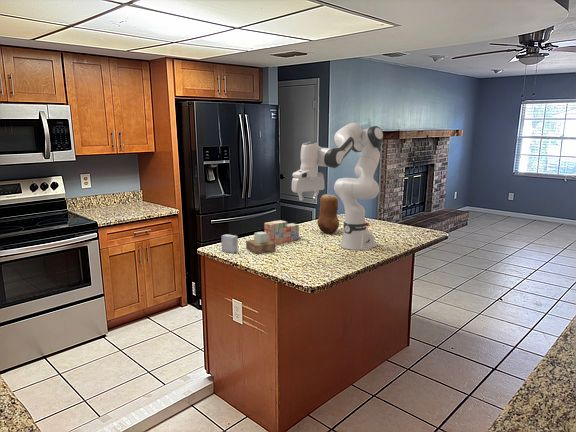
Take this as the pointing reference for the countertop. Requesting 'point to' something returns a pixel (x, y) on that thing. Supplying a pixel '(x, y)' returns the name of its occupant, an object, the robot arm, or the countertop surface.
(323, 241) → the countertop surface
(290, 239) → the stack of blocks
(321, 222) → the butternut squash
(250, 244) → the walnut block
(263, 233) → the sage cube
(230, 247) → the medicine box
